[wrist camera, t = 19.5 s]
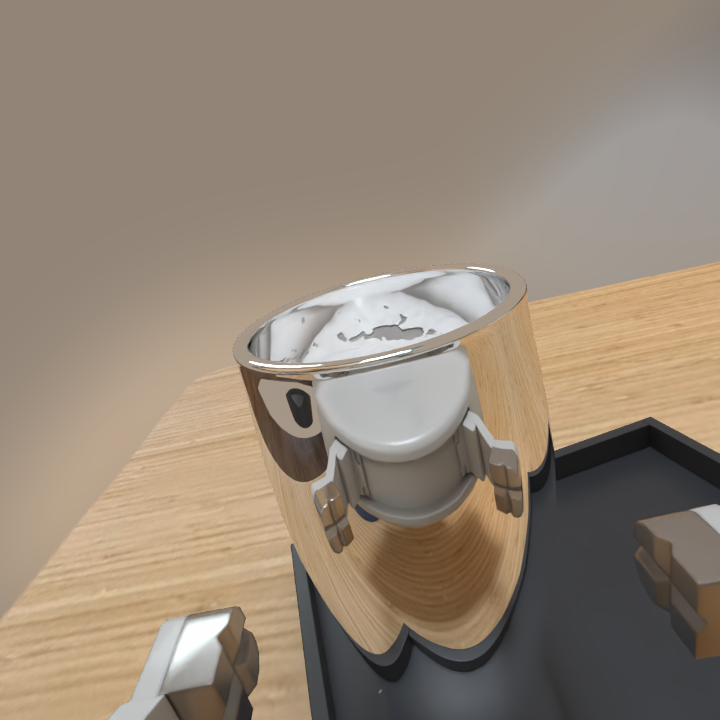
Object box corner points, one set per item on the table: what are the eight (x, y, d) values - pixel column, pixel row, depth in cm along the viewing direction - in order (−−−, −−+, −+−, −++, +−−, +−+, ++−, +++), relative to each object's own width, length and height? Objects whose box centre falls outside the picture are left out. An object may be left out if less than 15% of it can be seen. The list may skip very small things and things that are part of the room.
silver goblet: (462, 595, 20) (392, 260, 15) (626, 721, 15) (609, 259, 9) (333, 715, 17) (183, 340, 12) (483, 938, 11) (327, 415, 6)
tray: (370, 1073, 10) (350, 1041, 10) (300, 571, 24) (290, 544, 24) (1082, 704, 13) (1107, 659, 12) (650, 444, 27) (650, 416, 26)
